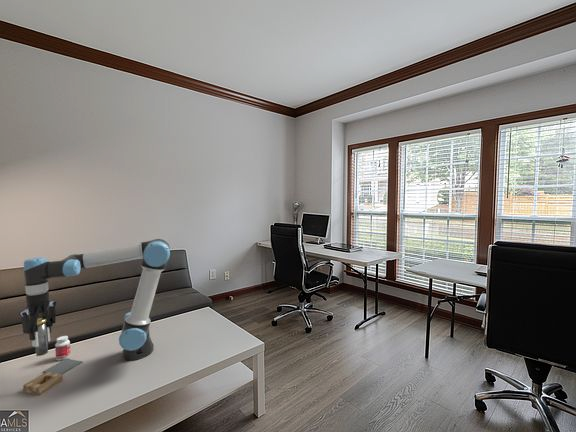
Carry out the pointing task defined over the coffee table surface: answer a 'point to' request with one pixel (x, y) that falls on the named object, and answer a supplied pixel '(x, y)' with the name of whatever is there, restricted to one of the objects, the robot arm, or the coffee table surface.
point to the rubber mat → (63, 366)
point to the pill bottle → (62, 348)
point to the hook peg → (41, 337)
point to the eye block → (38, 389)
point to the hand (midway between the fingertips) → (41, 343)
